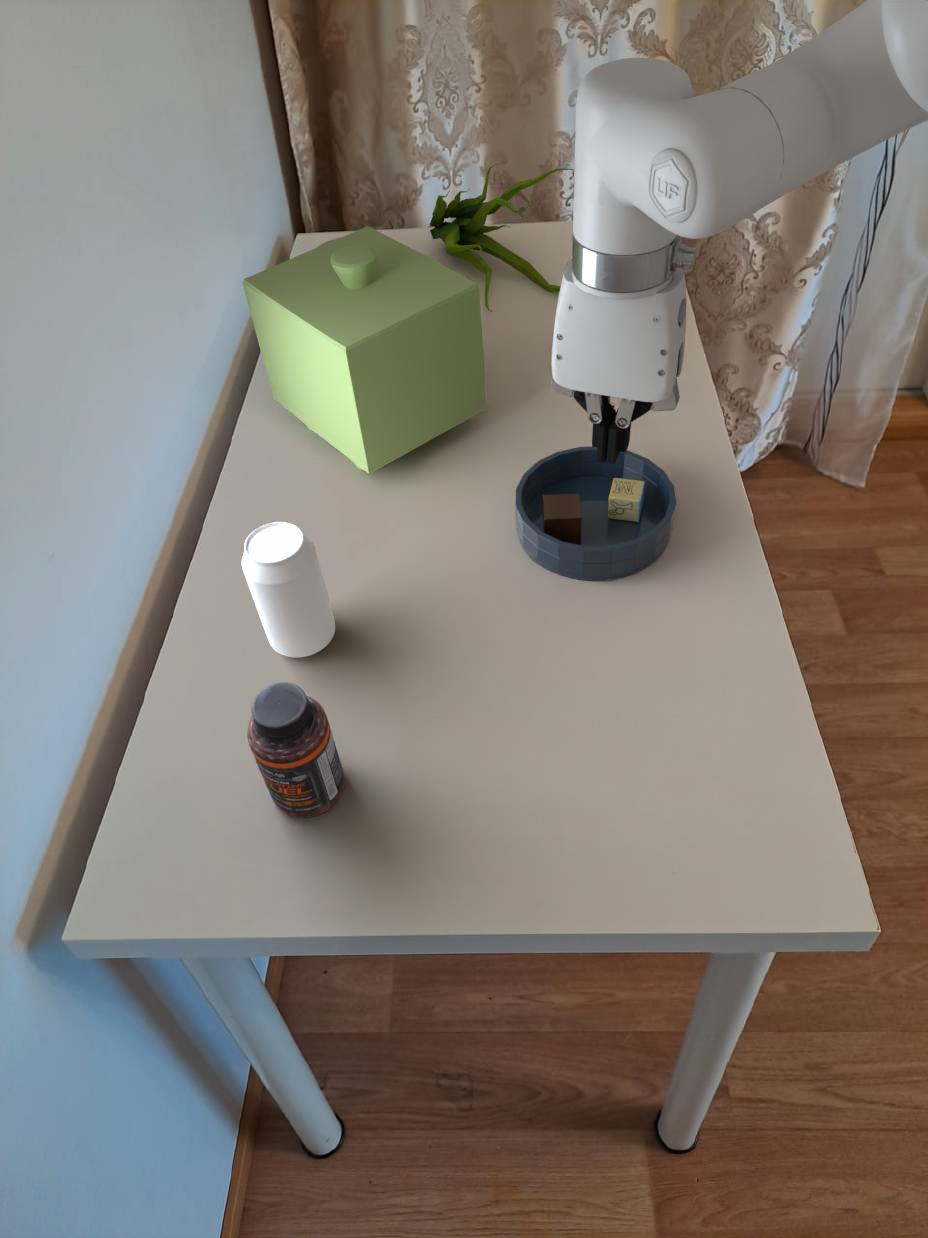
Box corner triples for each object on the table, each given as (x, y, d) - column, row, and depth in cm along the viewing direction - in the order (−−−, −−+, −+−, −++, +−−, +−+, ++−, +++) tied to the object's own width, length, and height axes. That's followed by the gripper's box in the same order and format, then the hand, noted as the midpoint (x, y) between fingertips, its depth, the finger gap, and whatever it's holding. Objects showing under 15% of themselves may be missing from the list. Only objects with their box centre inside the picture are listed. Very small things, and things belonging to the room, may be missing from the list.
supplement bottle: (262, 818, 70) (223, 735, 62) (283, 753, 74) (249, 667, 66) (337, 824, 70) (307, 741, 61) (353, 759, 73) (328, 672, 65)
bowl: (686, 492, 92) (691, 461, 89) (650, 596, 83) (654, 565, 80) (544, 465, 97) (543, 435, 94) (495, 561, 87) (493, 531, 84)
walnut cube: (578, 520, 90) (579, 493, 87) (580, 544, 87) (581, 517, 85) (543, 521, 90) (543, 494, 87) (544, 546, 88) (544, 519, 85)
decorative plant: (471, 349, 113) (463, 233, 102) (428, 242, 133) (417, 136, 122) (610, 323, 114) (616, 207, 103) (547, 222, 134) (547, 115, 123)
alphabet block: (638, 523, 89) (641, 500, 86) (607, 519, 89) (608, 496, 87) (643, 503, 91) (645, 479, 88) (612, 499, 91) (613, 476, 89)
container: (488, 426, 102) (477, 255, 87) (372, 492, 96) (339, 320, 81) (388, 360, 112) (363, 198, 97) (278, 416, 106) (233, 252, 91)
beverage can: (304, 674, 80) (273, 579, 71) (256, 644, 82) (220, 549, 74) (351, 629, 83) (327, 533, 74) (302, 602, 86) (273, 506, 77)
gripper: (735, 243, 67) (703, 443, 80) (542, 222, 71) (542, 415, 85) (715, 294, 62) (684, 497, 76) (510, 268, 67) (516, 464, 80)
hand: (610, 453), depth 80 cm, fingers closed
